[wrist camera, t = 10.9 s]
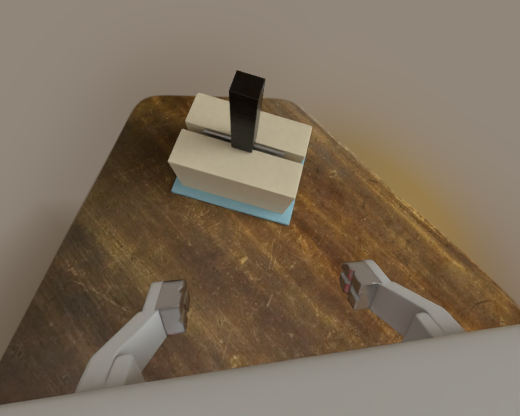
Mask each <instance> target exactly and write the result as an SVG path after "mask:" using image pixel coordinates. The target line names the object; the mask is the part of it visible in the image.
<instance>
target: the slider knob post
mask: <svg viewBox="0 0 520 416" xmlns="http://www.w3.org/2000/svg"><path fill="white" fill-rule="evenodd" d="M264 85H265V79H264V78H261V77H257V76H254V75H251V74H247V73H244V72H241V71H238V70H237V71H236V74H235V76H234V79H233V82H232V84H231V87H230V90H229V104H230V127H231V137H228V136H225V135H222V134H218V133H215V132H211V131H208V130H205V129H204V130H203V133H204V135H205V136H208V137H212V138H215V139H219V140H222V141H225V142H229V143H231V147H233V148H236V149H240V150H243V151H246V152H250V153H252V151H253V150H256V151H259V152H263V153H266V154H270V155H273V156H276V157H280V158H283V157H284V155H285V153H283V152H279V151H276V150H272V149H269V148H266V147H262V146H259V145H256V144H255V141H256V138H257V132H258V125H259V119H260V112H261V105H262V99H263V91H264Z"/></svg>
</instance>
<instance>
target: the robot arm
mask: <svg viewBox="0 0 520 416" xmlns="http://www.w3.org/2000/svg"><path fill="white" fill-rule="evenodd" d="M342 269H343V272H342V273H341V274H340V278H339V280H340V286H341V288H342V290H343V292H344V293H346V294H347V295H348V301H349V303H350V304H351V306H352V308H353V310H359V309H369V308H370V310H371V311H372V312H373V313H375V314H376V315H377V316H378V317H380V318H381V319H382V320H384V321H385V322H386V323H387V324H389V325H390V326H391V327H392V328H394V329H395V330H396V331H397V332H399V333H400V334H401V335H402V336H404V337H403V339H402V341H401V343H395V344H388V345H382V346H375V347H369V348H363V349H356V350H350V351H343V352H337V353H331V354H324V355H318V356H311V357H305V358H299V359H292V360H286V361H279V362H273V363H267V364H260V365H254V366H247V367H241V368H235V369H228V370H222V371H215V372H209V373H202V374H196V375H190V376H183V377H177V378H170V379H164V380H157V381H151V382H146V381H145V379H144V377H143V375H142V373H141V372H142V371H143V369H144V368H145V366H146V365H147V364H148V362H149V361H150V359H151V358H152V357H153V355H154V354H155V352H156V351H157V350H158V348H159V347H160V345H161V344H162V343H163V341H164V340H165V338H166V337H167V335H172V334H179V333H185V332H186V327H187V320H188V319H187V314H186V313H187V312H188V311H189V303H190V298H189V291H188V290H186V288H187V283H186V280H185V279H183V280H170V281H161V282H153V283H152V284H151V286H150V289H149V292H148V295H147V298H146V300H145V303H144V306H143V309H142V312H138V313H137V314H136V315H135V316H134V317H133V318H132V319H131V320H130V321H129V322H128V323H126V324H125V325H124V326H123V327H122V328H121V329H120V330H119V331H118V332H117V333H116V334H115V335H114V336H113V337H112V338H111V339H110V340H109V341H108V342H107V343H105V344H104V345H103V346H102V347H101V348H100V349H99V350H98V351H97V352H96V353H95V354H94V355H93V356H92V357H91V358H90V360H89V362H88V364H87V366H86V368H85V371H84V373H83V375H82V377H81V379H80V381H79V383H78V385H77V388H76V390H75V392H74V394H67V395H61V396H54V397H48V398H41V399H35V400H28V401H22V402H16V403H9V404H3V405H0V416H520V324H516V325H510V326H504V327H497V328H491V329H485V330H478V331H472V332H466V331H465V330H464V329H463V328H462V327H461V326H460V325H459V324H458V323H457V322H456V321H455V320H454V319H453V318H452V316H451V315H450V314H449V313H448V312H447V311H446V310H445V309H444V308H442V307H440V306H438V305H436V304H434V303H432V302H431V301H429V300H427V299H425V298H423V297H421V296H419V295H418V294H416V293H414V292H412V291H410V290H408V289H406V288H405V287H403V286H401V285H399V284H397V283H395V282H391V281H390V280H389V279H388V277H387V276H386V275H385V274H384V273H383V271H382V270H381V269H380V268H379V267H378V265H377V264H376V263H375V262H374V261H373V260H371V259H370V260H362V261H352V262H344V263H343V265H342Z"/></svg>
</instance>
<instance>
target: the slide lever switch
mask: <svg viewBox="0 0 520 416" xmlns="http://www.w3.org/2000/svg"><path fill="white" fill-rule="evenodd" d="M185 123H186V125H187V128H188V130H185V129H181V132H180V134H179V136H178V139H177V141H176V143H175V146H174V148H173V150H172V153H171V155H170V157H169V160H168V163H169V164H170V166H171V167H172V169H173V171H174V172H175V174H176V175H177V177H176V180H175V182H174V185H173V187H172V190H171V191H172V193H176V194H179V195H183V196H186V197H190V198H193V199H197V200H200V201H203V202H207V203H210V204H214V205H217V206H221V207H224V208H228V209H231V210H235V211H238V212H242V213H245V214H249V215H252V216H256V217H259V218H262V219H266V220H269V221H273V222H276V223H280V224H283V225H287V226H288V225H289V223H290V219H291V214H292V210H293V206H294V202H295V198H296V193H297V189H298V185H299V181H300V177H301V173H302V168H303V164H304V160H305V156H306V152H307V147H308V143H309V139H310V135H311V130H312V126H309V125H306V124H303V123H299V122H296V121H292V120H289V119H286V118H282V117H279V116H276V115H272V114H269V113H266V112H262V111H261V112H260V119H259V125H258V132H257V138H256V141H255V144H256V145H259V146H262V147H266V148H269V149H272V150H276V151H279V152H283V153H285V155H284V157H283V158H280V157H276V156H273V155H270V154H266V153H263V152H259V151H256V150H253V151H252V153H250V152H246V151H243V150H240V149H236V148H233V147H231V143H229V142H225V141H222V140H219V139H215V138H212V137H208V136H205V135H204V133H203V130H204V129H205V130H208V131H211V132H215V133H218V134H222V135H225V136H228V137H231V127H230V104H229V101H225V100H222V99H219V98H215V97H212V96H209V95H205V94H201V93H197V95H196V97H195V100H194V102H193V104H192V106H191V109H190V111H189V113H188V116H187V118H186V120H185Z"/></svg>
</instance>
